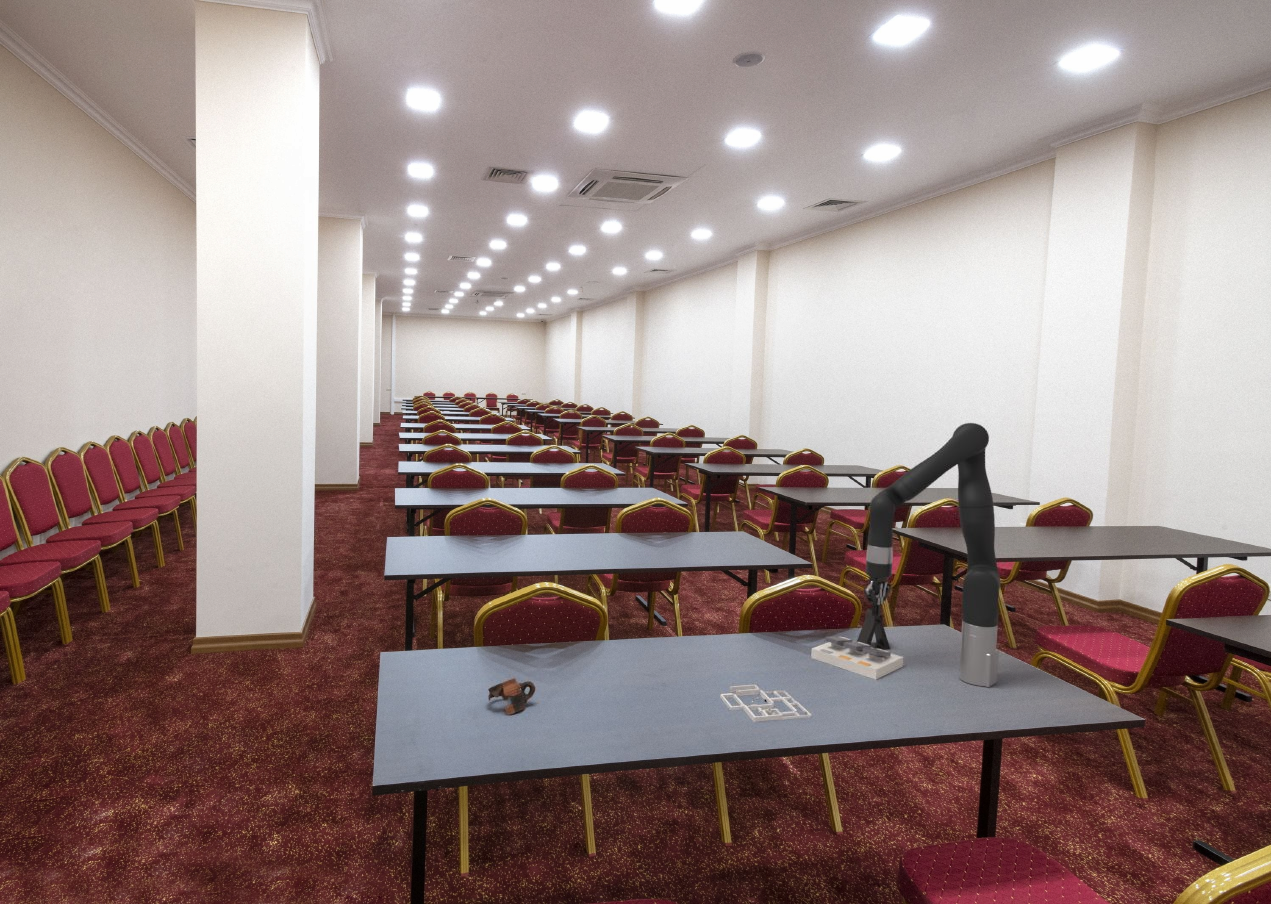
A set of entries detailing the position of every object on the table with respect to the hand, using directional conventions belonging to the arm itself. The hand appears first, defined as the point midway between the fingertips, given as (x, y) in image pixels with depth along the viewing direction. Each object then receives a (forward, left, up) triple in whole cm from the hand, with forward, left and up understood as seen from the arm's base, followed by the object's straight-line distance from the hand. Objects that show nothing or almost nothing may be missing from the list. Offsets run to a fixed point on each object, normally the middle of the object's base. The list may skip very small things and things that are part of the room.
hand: (876, 615), depth 212 cm
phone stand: (+8, -15, -16) cm, 23 cm away
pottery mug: (+44, +101, -16) cm, 112 cm away
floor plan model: (+5, +52, -16) cm, 55 cm away
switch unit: (+4, +2, -15) cm, 16 cm away
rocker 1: (+11, +2, -11) cm, 16 cm away
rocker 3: (-2, +2, -11) cm, 11 cm away
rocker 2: (+4, +2, -11) cm, 12 cm away
